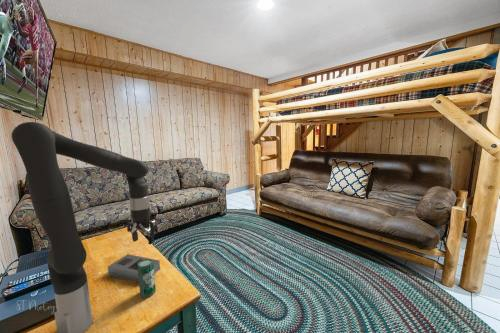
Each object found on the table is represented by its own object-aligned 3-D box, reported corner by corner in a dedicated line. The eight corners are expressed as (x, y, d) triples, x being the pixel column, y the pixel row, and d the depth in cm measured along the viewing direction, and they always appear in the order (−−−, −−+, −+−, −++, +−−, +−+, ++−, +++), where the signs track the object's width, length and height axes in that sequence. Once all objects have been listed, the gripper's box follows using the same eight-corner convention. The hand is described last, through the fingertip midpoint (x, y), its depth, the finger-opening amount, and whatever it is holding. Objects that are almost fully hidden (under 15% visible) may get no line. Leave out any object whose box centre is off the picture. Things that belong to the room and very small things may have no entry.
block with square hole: (142, 283, 102) (141, 274, 101) (108, 275, 108) (107, 266, 107) (160, 269, 113) (159, 260, 112) (128, 262, 119) (127, 253, 119)
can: (149, 298, 92) (146, 267, 90) (137, 296, 93) (134, 265, 91) (158, 289, 98) (155, 259, 96) (146, 287, 99) (144, 257, 97)
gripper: (119, 208, 88) (123, 244, 91) (146, 211, 84) (150, 248, 86) (134, 202, 96) (137, 236, 98) (160, 205, 91) (162, 240, 94)
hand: (143, 242), depth 92 cm, fingers open, 8 cm apart
